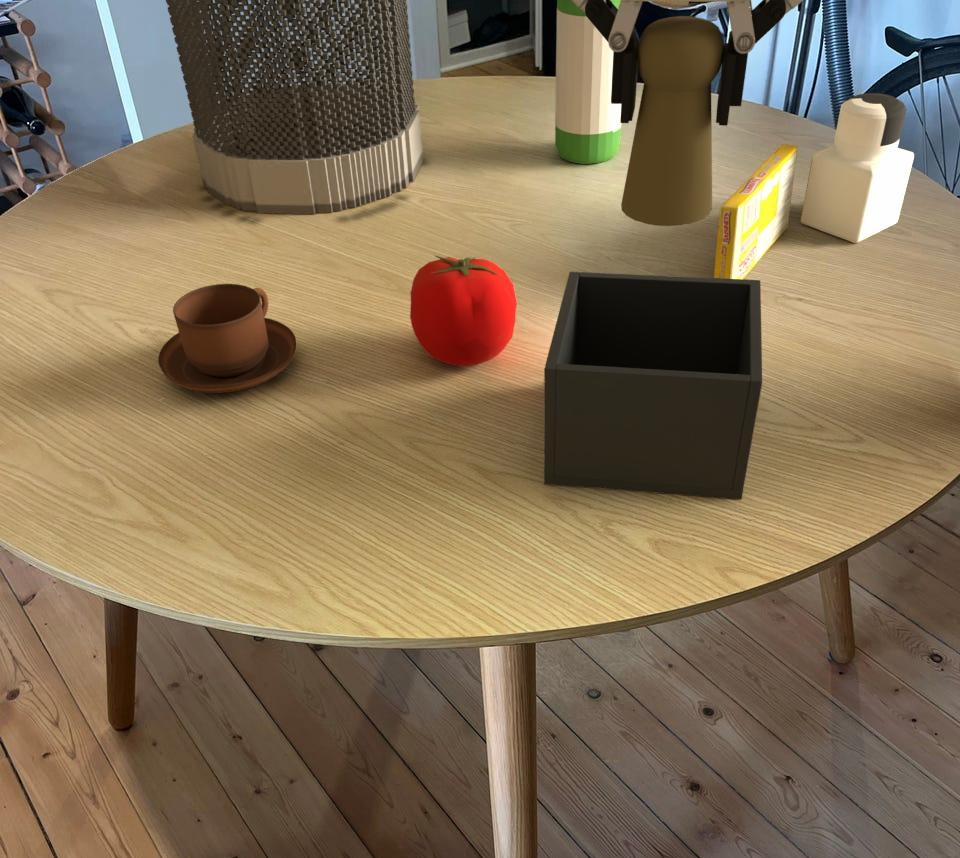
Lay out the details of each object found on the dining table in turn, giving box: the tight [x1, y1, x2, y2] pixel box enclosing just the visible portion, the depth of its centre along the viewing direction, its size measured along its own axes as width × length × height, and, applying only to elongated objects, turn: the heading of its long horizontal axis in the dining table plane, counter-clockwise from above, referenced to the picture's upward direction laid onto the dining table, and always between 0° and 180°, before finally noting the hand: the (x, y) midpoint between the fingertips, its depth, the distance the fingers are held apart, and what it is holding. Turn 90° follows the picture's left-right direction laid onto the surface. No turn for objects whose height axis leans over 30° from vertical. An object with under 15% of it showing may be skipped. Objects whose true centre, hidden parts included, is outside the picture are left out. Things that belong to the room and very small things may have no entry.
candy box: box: [713, 143, 798, 279], centre depth 99 cm, size 16×2×8 cm, turn 149°
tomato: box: [409, 255, 518, 367], centre depth 88 cm, size 9×10×8 cm
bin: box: [543, 271, 763, 500], centre depth 77 cm, size 15×15×10 cm
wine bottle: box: [554, 0, 622, 165], centre depth 112 cm, size 8×8×30 cm
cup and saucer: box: [157, 283, 297, 394], centre depth 88 cm, size 12×12×6 cm
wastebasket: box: [165, 0, 424, 215], centre depth 112 cm, size 25×25×30 cm
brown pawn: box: [620, 15, 725, 227], centre depth 64 cm, size 6×6×11 cm
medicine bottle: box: [800, 92, 915, 244], centre depth 102 cm, size 7×7×12 cm
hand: (674, 113), depth 64 cm, fingers closed on brown pawn, 5 cm apart
